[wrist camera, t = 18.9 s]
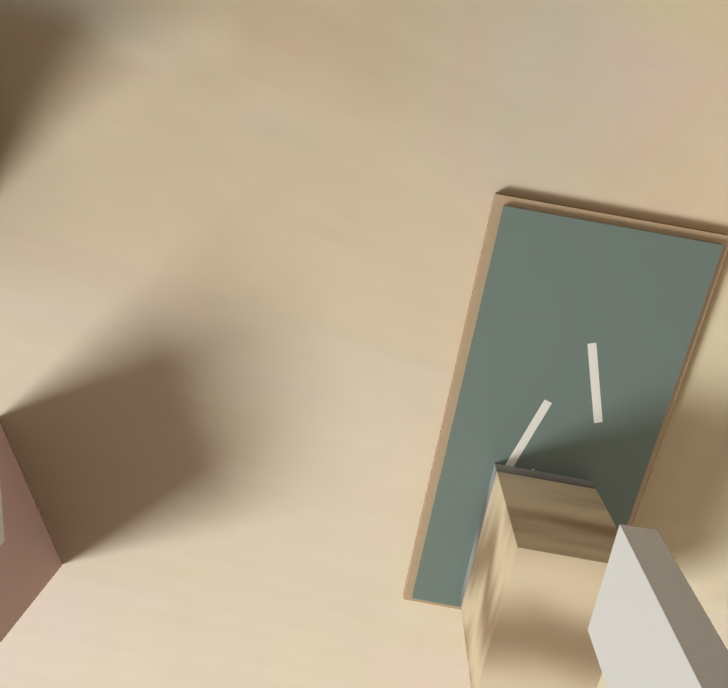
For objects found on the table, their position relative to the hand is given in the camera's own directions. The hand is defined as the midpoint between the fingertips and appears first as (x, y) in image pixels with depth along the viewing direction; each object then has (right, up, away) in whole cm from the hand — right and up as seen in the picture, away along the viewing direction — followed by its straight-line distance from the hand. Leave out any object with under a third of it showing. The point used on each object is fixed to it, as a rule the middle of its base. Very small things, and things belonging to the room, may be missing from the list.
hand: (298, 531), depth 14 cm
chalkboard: (+13, -1, +26) cm, 29 cm away
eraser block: (+11, -8, +27) cm, 31 cm away
